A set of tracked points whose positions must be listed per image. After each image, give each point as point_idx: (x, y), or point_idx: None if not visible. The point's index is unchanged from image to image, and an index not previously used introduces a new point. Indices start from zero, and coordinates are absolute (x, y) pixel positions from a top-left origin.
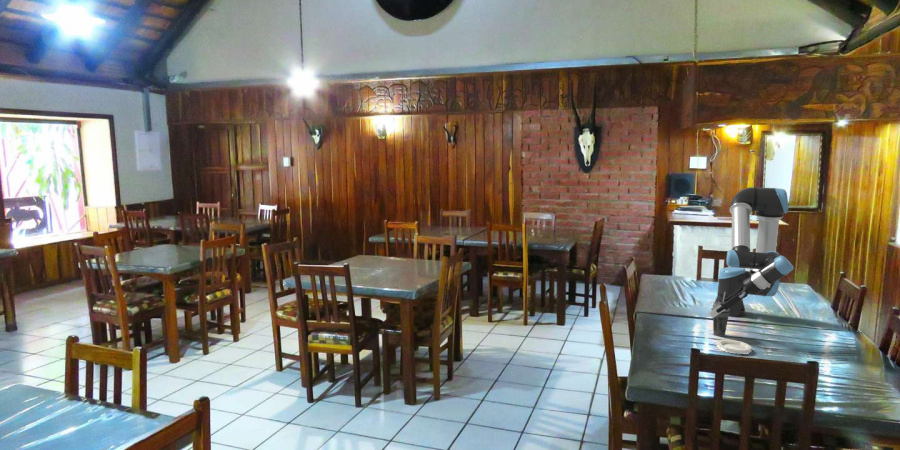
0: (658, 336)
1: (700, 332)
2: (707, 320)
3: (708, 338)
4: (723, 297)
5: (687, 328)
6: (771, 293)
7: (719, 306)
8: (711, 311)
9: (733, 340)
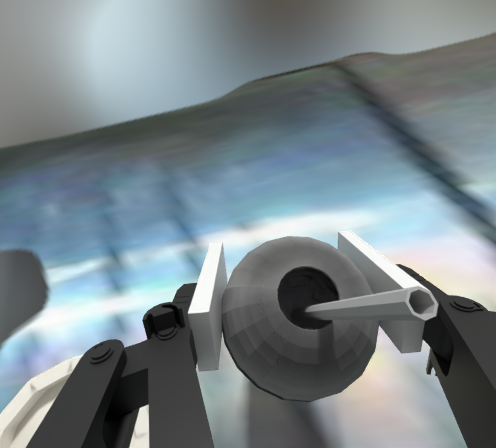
0: (128, 157)
1: None
2: (461, 235)
3: None
4: (340, 302)
5: (278, 201)
6: None
7: (193, 301)
8: (207, 253)
9: (143, 437)
